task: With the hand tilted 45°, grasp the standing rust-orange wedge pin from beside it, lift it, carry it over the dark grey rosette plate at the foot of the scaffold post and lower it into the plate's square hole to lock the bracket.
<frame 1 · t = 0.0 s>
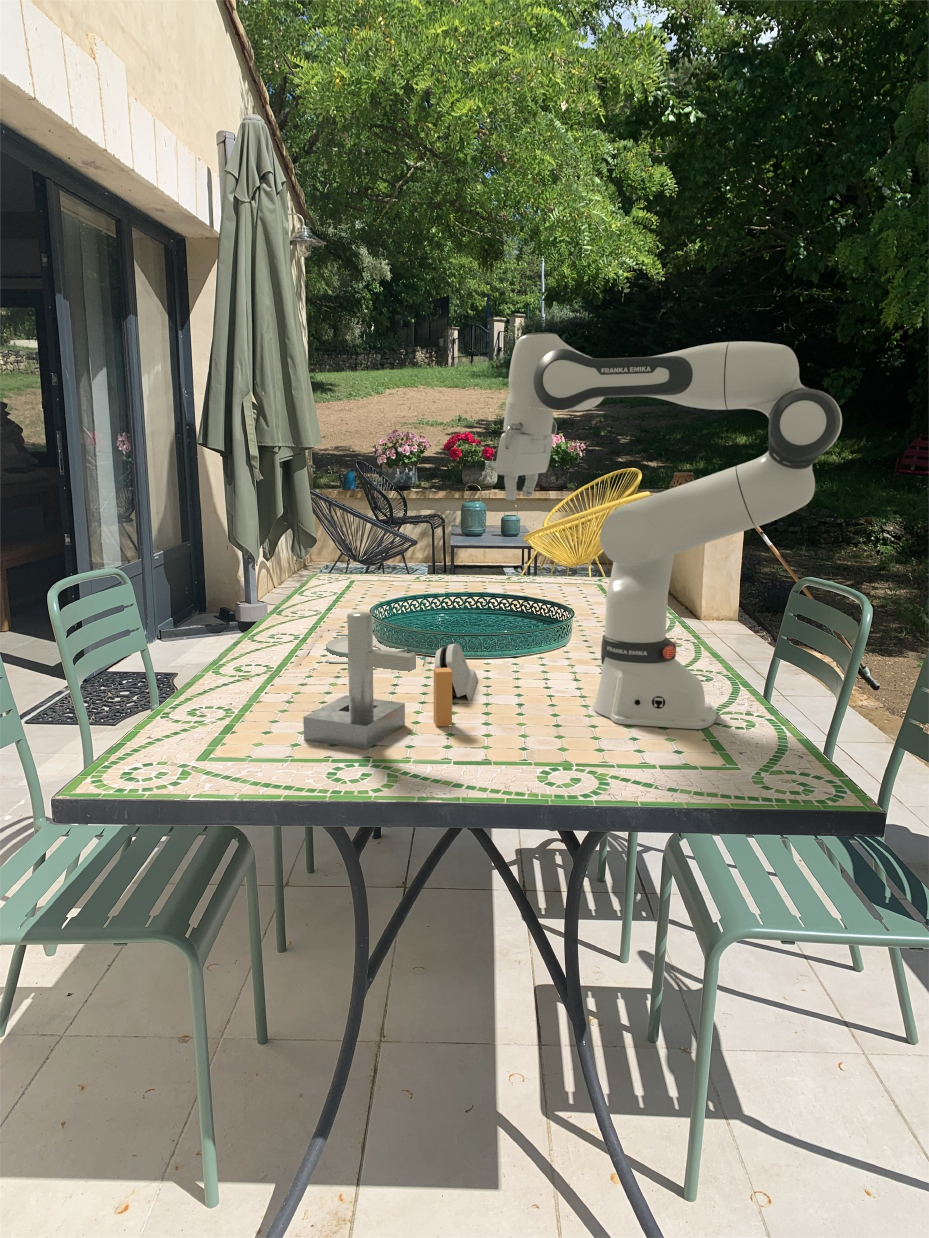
hand: (519, 498, 170), 39 cm above the table, tool pointing down, fingers open, 8 cm apart
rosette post: (358, 730, 157), on the table
wedge pin: (442, 724, 160), on the table
hinge: (455, 690, 183), on the table
place mat: (369, 653, 215), on the table
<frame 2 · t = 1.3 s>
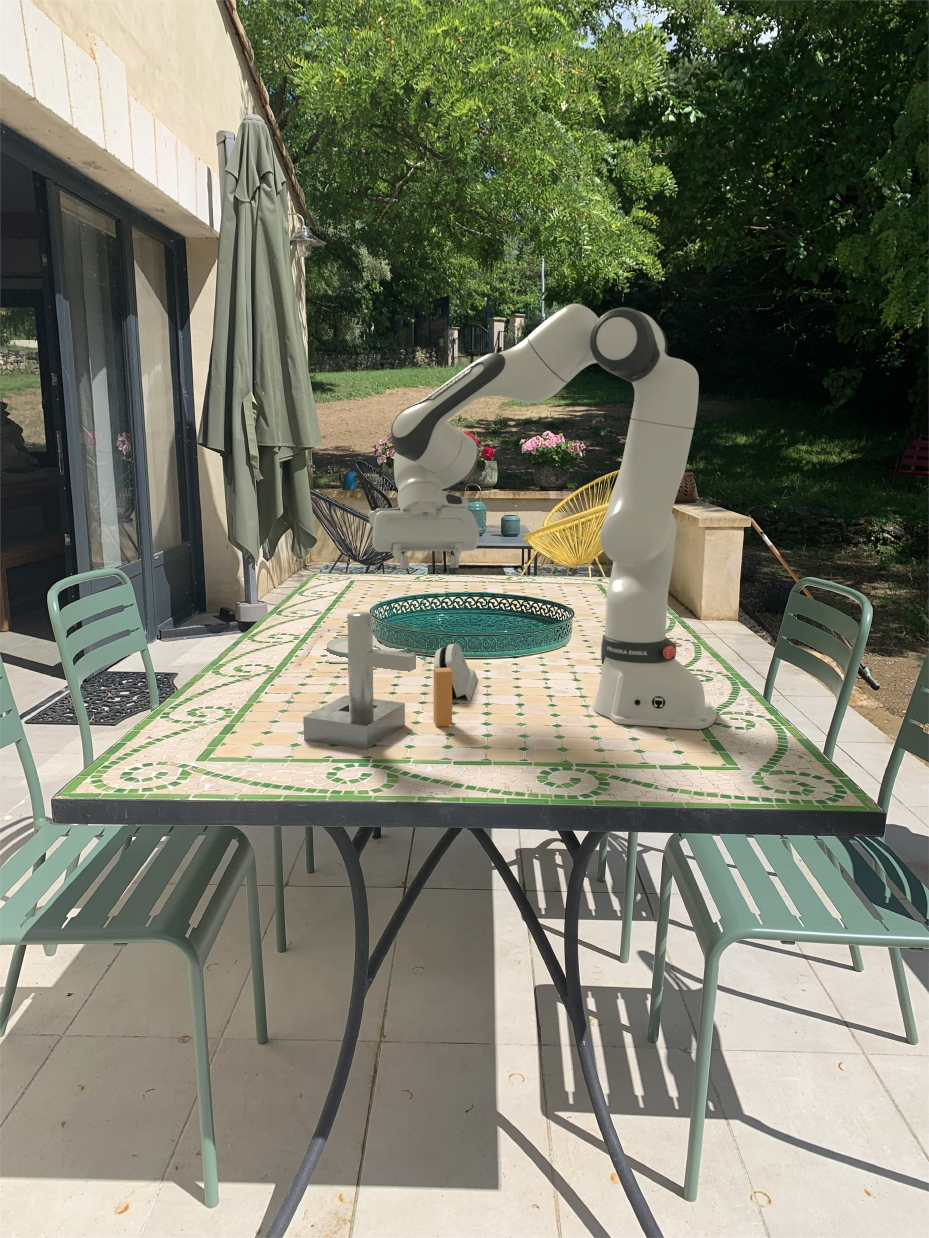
hand: (430, 566, 167), 27 cm above the table, tool tilted 45°, fingers open, 8 cm apart
nothing on the table moved.
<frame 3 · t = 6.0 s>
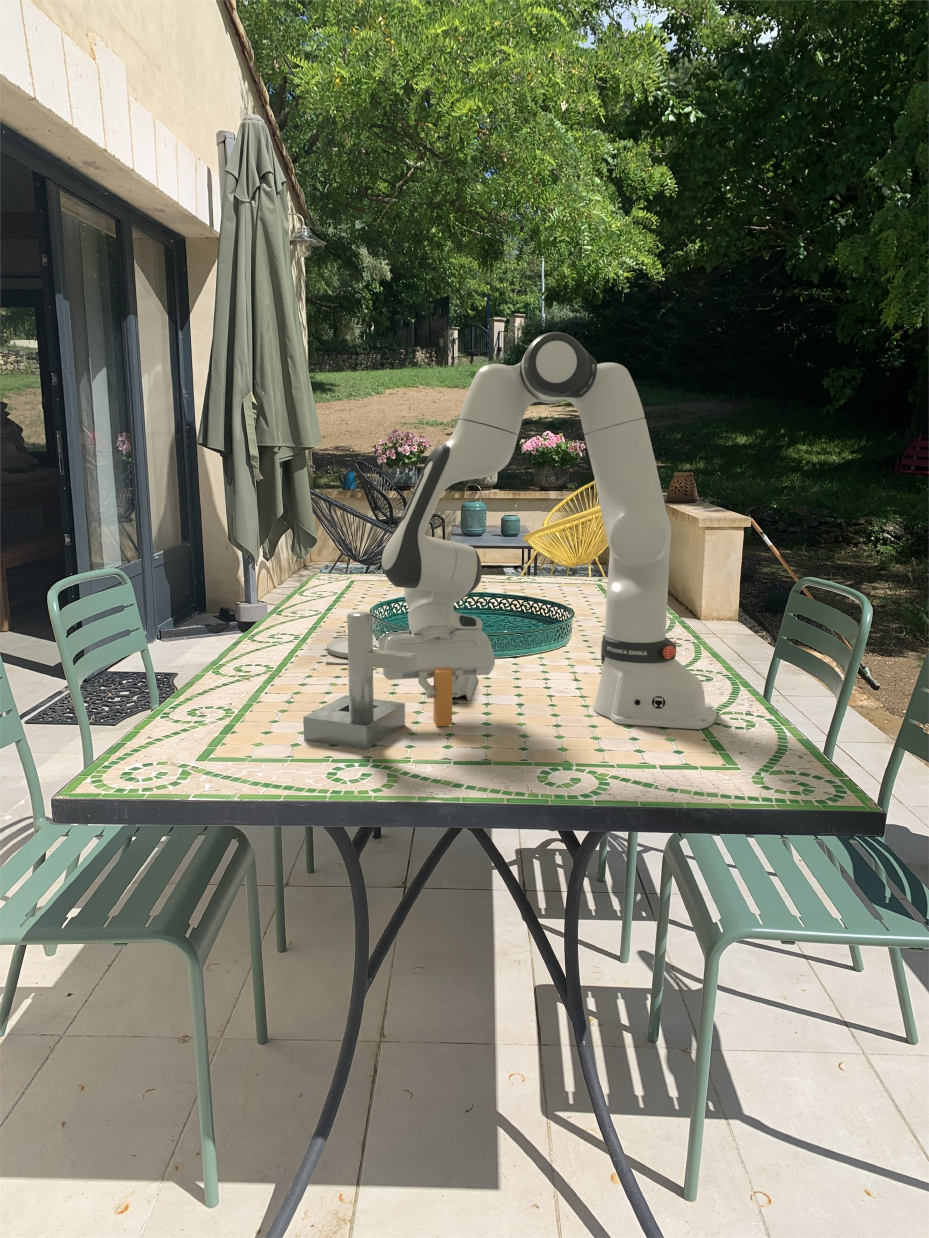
hand: (443, 696, 159), 5 cm above the table, tool tilted 45°, fingers closed on wedge pin, 3 cm apart
wedge pin: (442, 724, 160), on the table, touching gripper
everything else where it was.
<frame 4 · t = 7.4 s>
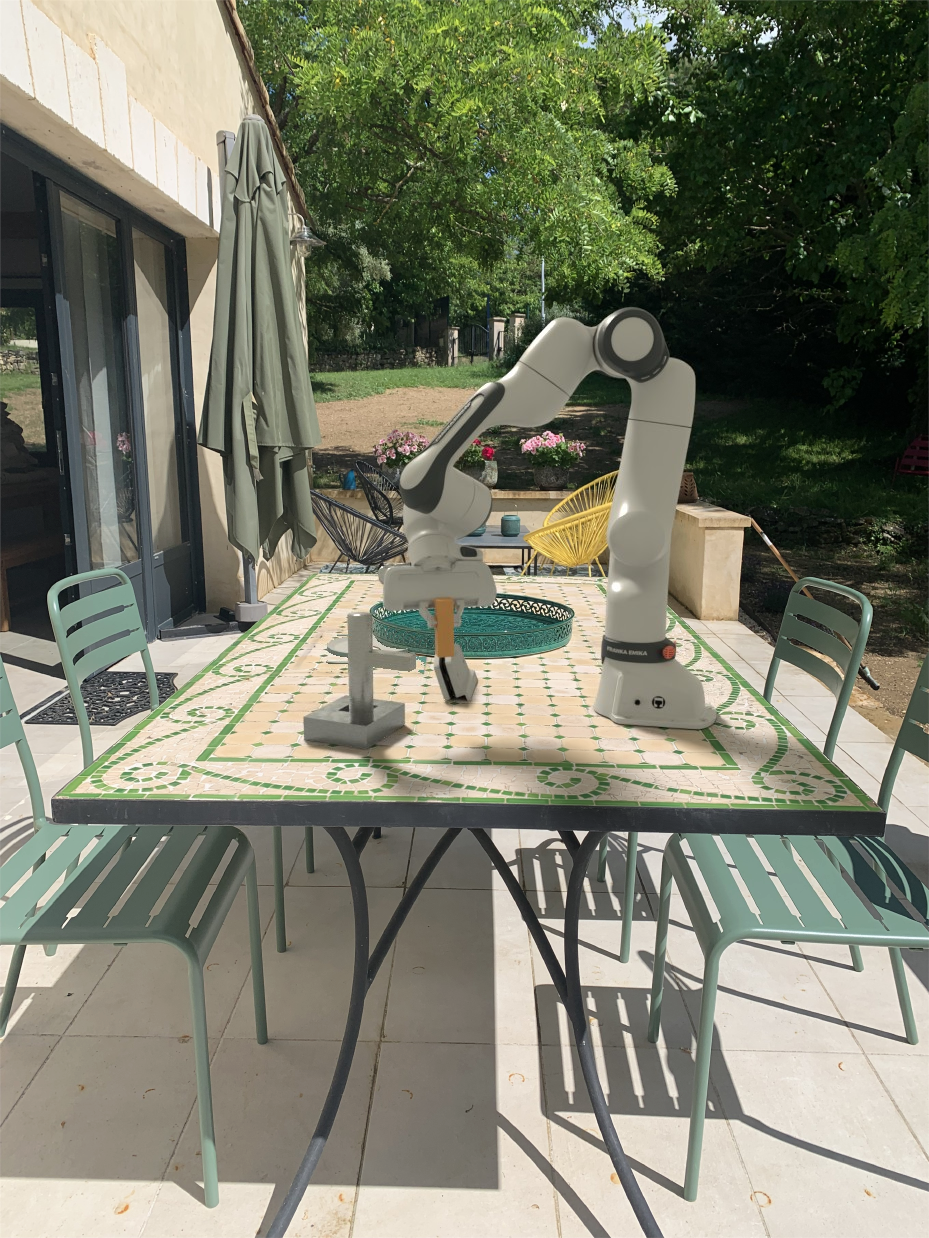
hand: (445, 625, 156), 18 cm above the table, tool tilted 45°, fingers closed on wedge pin, 3 cm apart
wedge pin: (444, 655, 158), point 13 cm above the table, touching gripper
everything else where it was.
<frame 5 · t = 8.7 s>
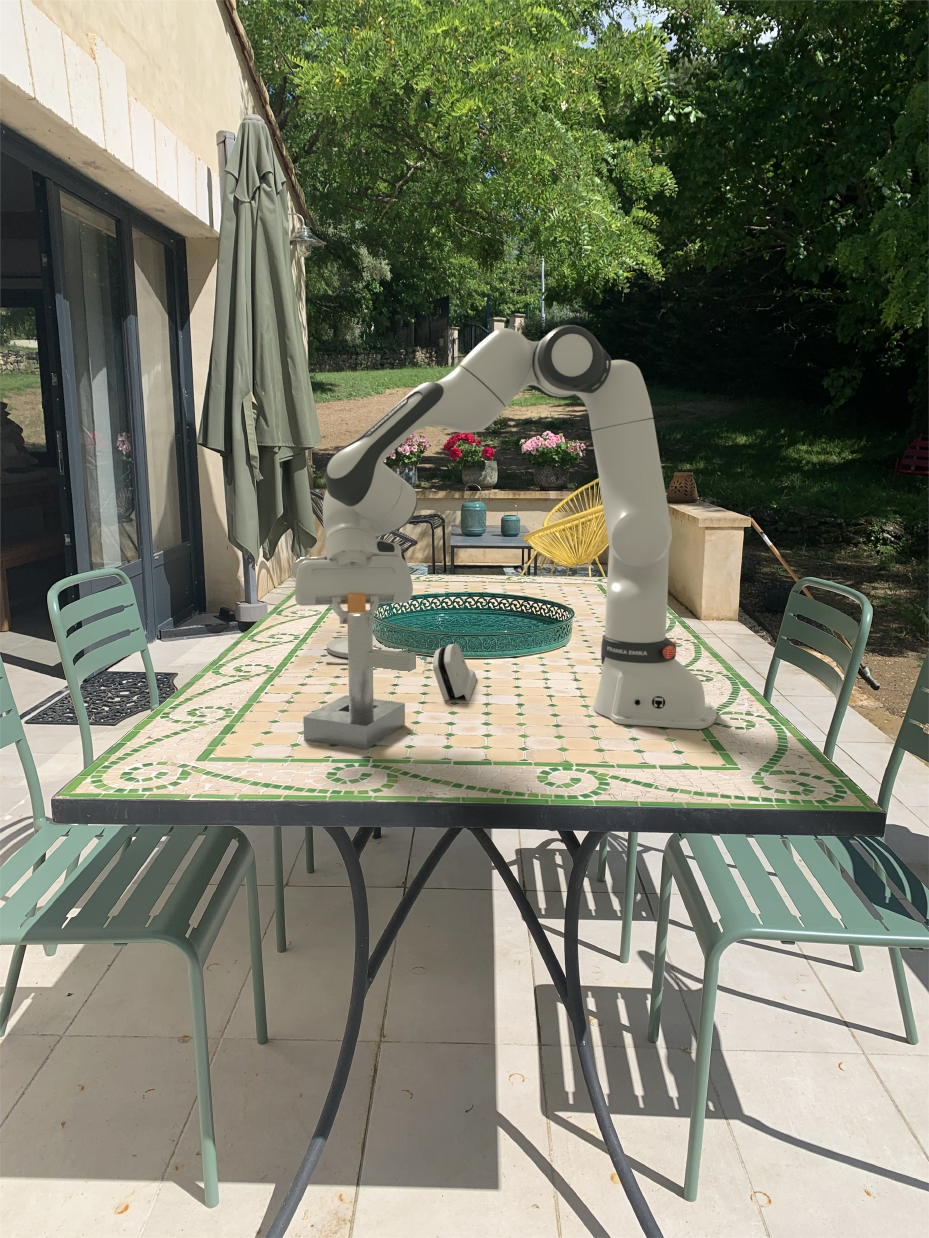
hand: (357, 622, 152), 19 cm above the table, tool tilted 45°, fingers closed on wedge pin, 3 cm apart
wedge pin: (357, 651, 154), point 14 cm above the table, touching gripper
everything else where it was.
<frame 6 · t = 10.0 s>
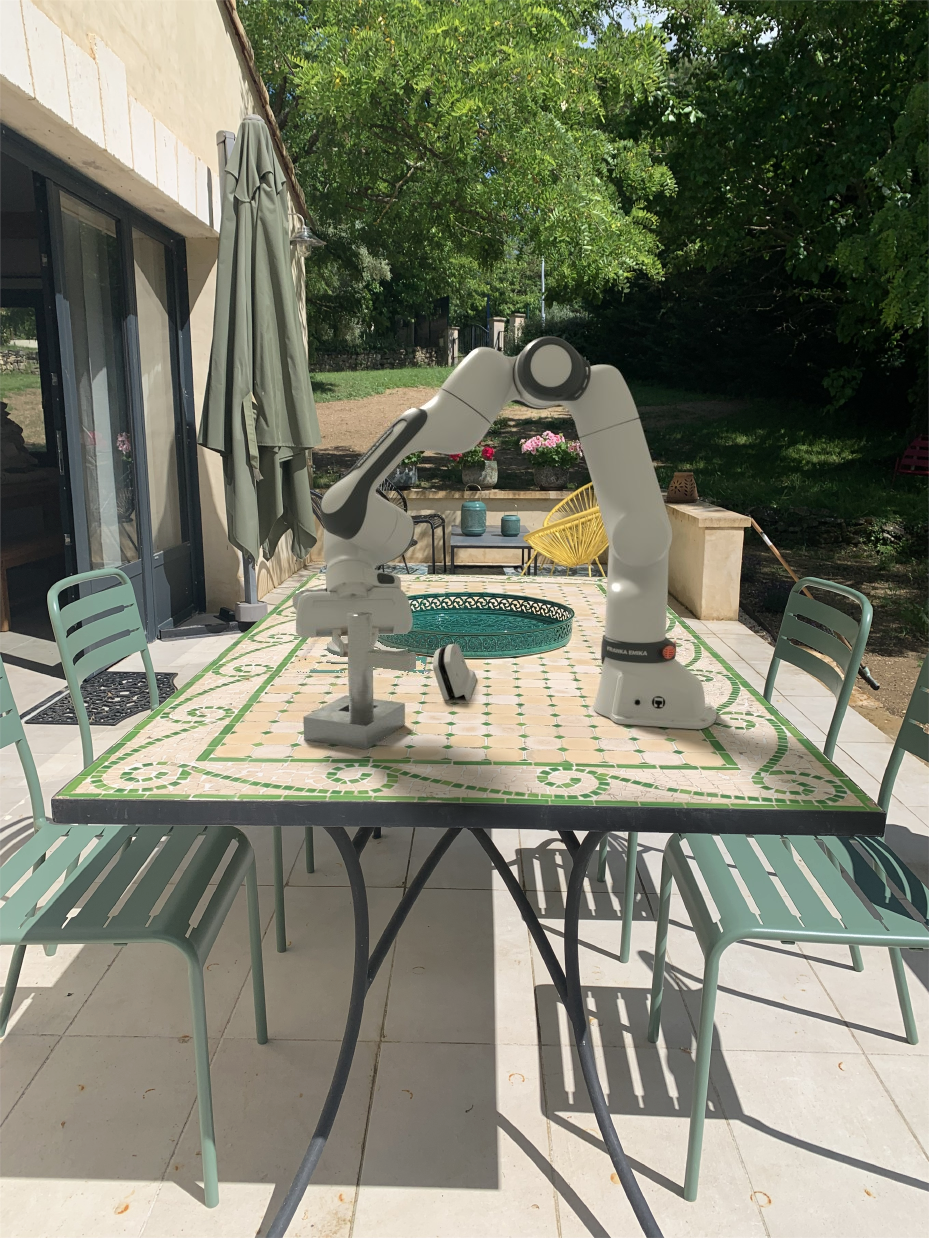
hand: (357, 654, 154), 14 cm above the table, tool tilted 45°, fingers closed on wedge pin, 3 cm apart
wedge pin: (357, 683, 155), point 8 cm above the table, touching gripper
everything else where it was.
when the fingers open (8 cm above the table, at t = 11.5 s): wedge pin drops 3 cm, resting in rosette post.
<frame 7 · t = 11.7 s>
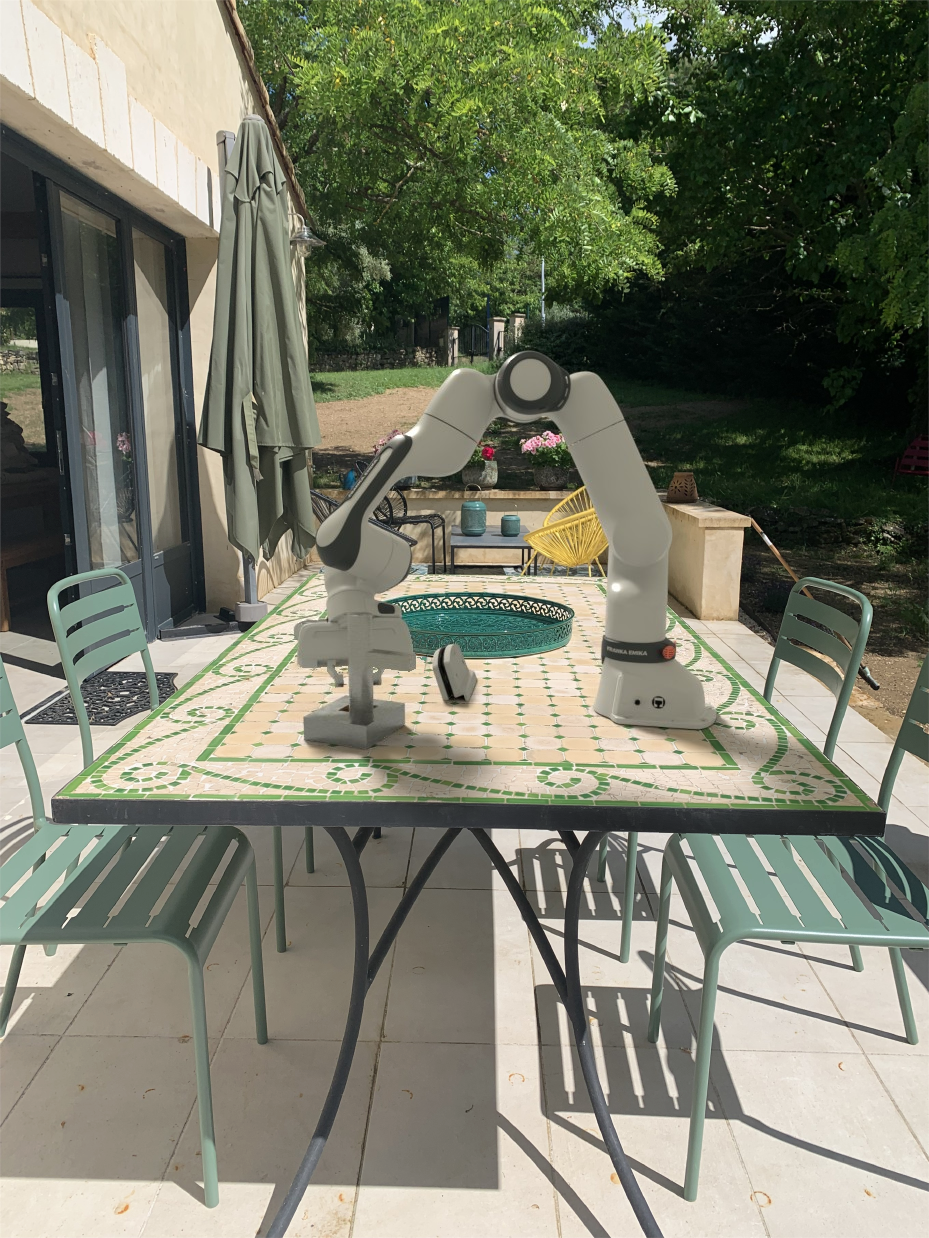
hand: (358, 684, 155), 8 cm above the table, tool tilted 45°, fingers open, 5 cm apart
wedge pin: (358, 730, 157), resting in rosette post
everything else where it was.
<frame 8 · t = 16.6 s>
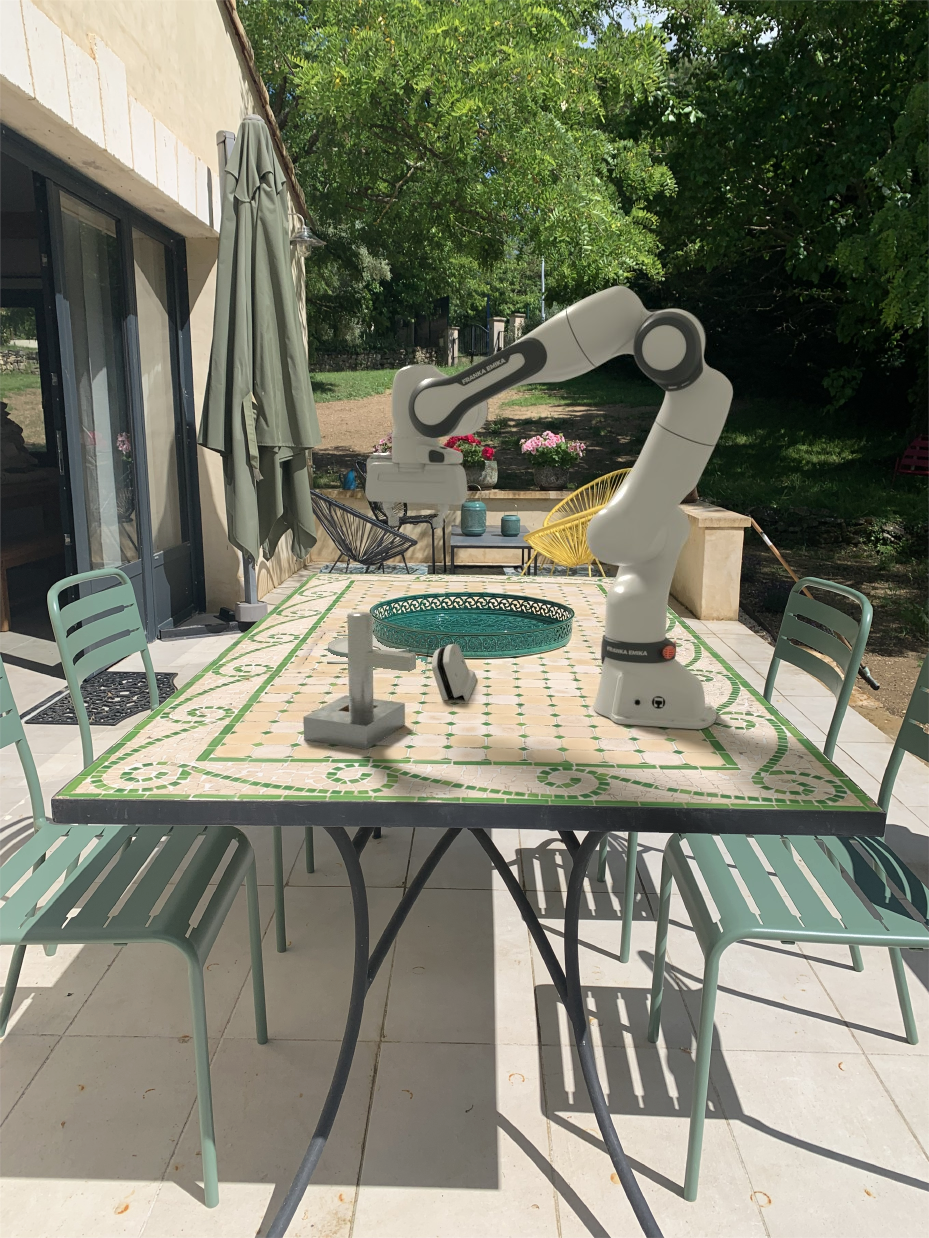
hand: (415, 526, 173), 33 cm above the table, tool pointing down, fingers open, 8 cm apart
nothing on the table moved.
at the end: wedge pin 0.1 cm off-centre on the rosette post, point 0.0 cm above the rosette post's base; wedge pin tilted 0°; the gripper is holding nothing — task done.
